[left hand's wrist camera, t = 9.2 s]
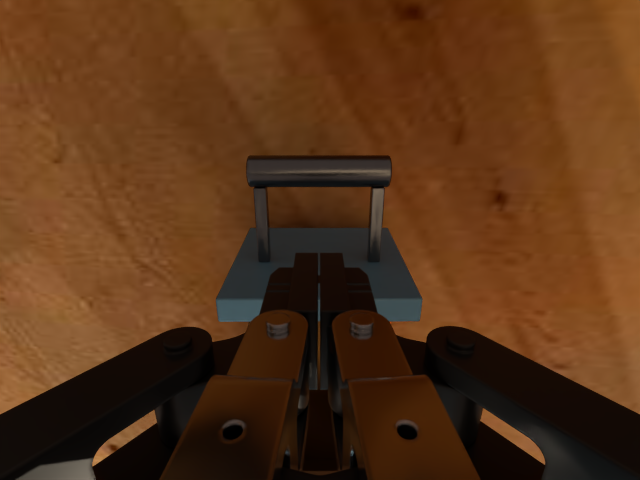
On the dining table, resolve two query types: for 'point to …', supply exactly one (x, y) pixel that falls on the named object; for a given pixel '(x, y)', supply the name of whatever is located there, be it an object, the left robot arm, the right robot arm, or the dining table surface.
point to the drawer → (355, 243)
